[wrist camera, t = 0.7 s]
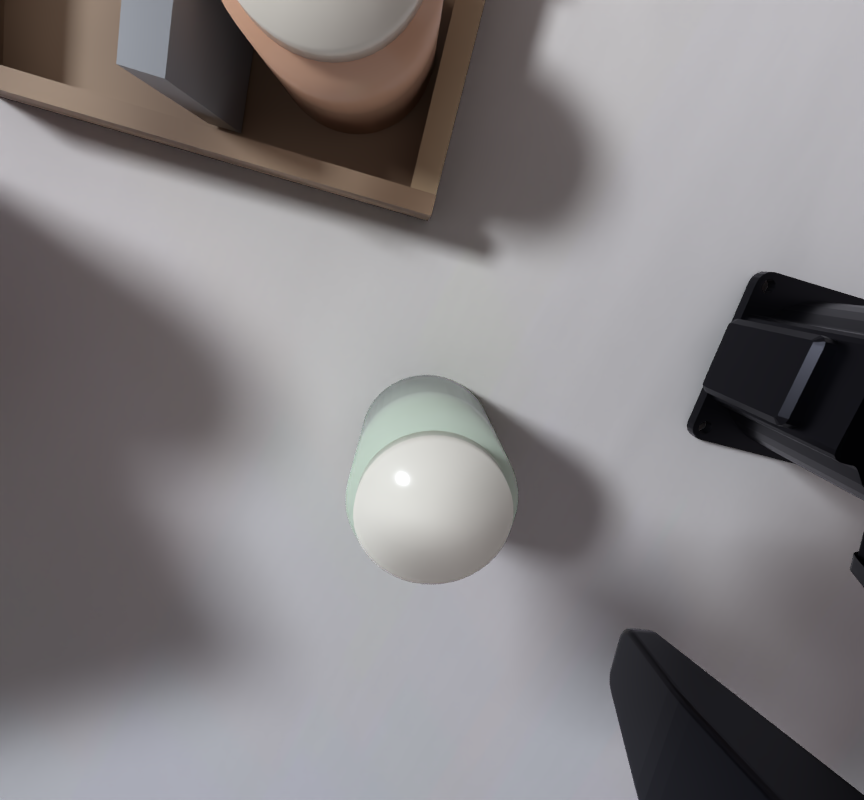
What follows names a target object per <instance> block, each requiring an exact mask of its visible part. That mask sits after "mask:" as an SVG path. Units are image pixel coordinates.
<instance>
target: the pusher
mask: <svg viewBox="0 0 864 800" xmlns="http://www.w3.org/2000/svg"><path fill="white" fill-rule="evenodd" d="M253 49H254V47H253V46H252V45H251V43H250V42H249V41H248V39H247V38H246V37H245V35H244V34H243V33H242V31H241V30H240V29H239V27H238V26H237V25H236V23H235V22H234V20H233V19H232V17H231V16H230V14H229V13H228V11H227V10H226V8H225V6H224V4H223V2H222V0H121V12H120V24H119V36H118V49H117V61H116V64H117V65H119V66H120V67H122V68H123V69H125V70H127V71H128V72H130V73H131V74H133V75H134V76H136V77H137V78H139V79H140V80H142V81H144V82H145V83H147V84H148V85H150V86H151V87H153V88H154V89H156V90H157V91H159V92H160V93H162V94H164V95H165V96H167V97H168V98H170V99H171V100H173V101H174V102H176V103H177V104H179V105H181V106H182V107H184V108H185V109H187V110H188V111H190V112H191V113H193V114H194V115H196V116H198V117H199V118H201V119H202V120H204V121H205V122H207V123H208V124H211V125H215V126H218V127H221V128H225V129H228V130H232V131H235V132H238V133H241V131H242V124H243V117H244V111H245V104H246V97H247V90H248V83H249V77H250V70H251V63H252V56H253Z"/></svg>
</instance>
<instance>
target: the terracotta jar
mask: <svg viewBox="0 0 864 800" xmlns="http://www.w3.org/2000/svg"><path fill="white" fill-rule="evenodd" d="M222 2H223V4H224V6H225V8H226V10H227V11H228V13H229V14H230V16H231V17H232V19H233V20H234V22H235V23H236V25H237V26H238V27H239V29H240V30H241V31H242V33H243V34H244V35H245V37H246V38H247V39H248V41H249V42H250V43H251V45H252V46H253V47H254V49H255V50H256V51H257V53H258V54H259V55H260V57H261V58H262V59H263V61H264V62H265V63H266V65H267V66H268V67H269V69H270V70H271V71H272V73H273V74H274V75H275V77H276V78H277V79H278V81H279V82H280V83H281V85H282V86H283V87H284V89H285V90H286V91H287V92H288V94H289V95H290V96H291V98H292V99H293V100H294V101H295V103H296V104H297V105H298V106H299V107H300V108H301V109H302V110H303V111H304V112H305V113H306V114H307V115H308V116H310V117H311V118H312V119H314V120H315V121H316V122H318V123H320V124H322V125H324V126H325V127H327V128H330V129H333V130H335V131H339V132H343V133H347V134H369V133H374V132H378V131H381V130H384V129H386V128H389V127H390V126H392V125H394V124H396V123H397V122H399V121H400V120H402V119H403V118H404V117H405V116H406V115H407V114H408V113H410V112H411V111H412V110H413V108H414V107H415V106H416V105H417V103H418V102H419V101H420V99H421V97H422V96H423V94H424V92H425V90H426V88H427V86H428V84H429V81H430V78H431V75H432V72H433V68H434V62H435V57H436V49H437V42H438V35H439V28H440V21H441V13H442V6H443V0H222Z"/></svg>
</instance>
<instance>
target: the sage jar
mask: <svg viewBox="0 0 864 800" xmlns="http://www.w3.org/2000/svg"><path fill="white" fill-rule="evenodd" d="M517 505H518V487H517V481H516V477H515V474H514V471H513V469H512V467H511V465H510V462H509V460H508V458H507V456H506V454H505V452H504V450H503V448H502V446H501V444H500V442H499V440H498V438H497V435H496V433H495V431H494V429H493V427H492V425H491V423H490V421H489V419H488V417H487V415H486V413H485V411H484V409H483V406H482V405H481V403H480V402H479V400H478V399H477V398H476V397H475V396H474V395H473V393H471V392H470V391H469V390H468V389H467V388H465V387H464V386H462V385H461V384H459V383H457V382H455V381H453V380H451V379H448V378H444V377H440V376H433V375H421V376H414V377H409V378H406V379H403V380H400V381H398V382H396V383H394V384H392V385H391V386H389V387H388V388H386V389H385V390H384V391H383V392H382V393H381V394H379V396H378V397H377V398H376V399H375V400H374V402H373V403H372V405H371V406H370V408H369V410H368V412H367V414H366V416H365V420H364V423H363V427H362V430H361V434H360V438H359V442H358V445H357V449H356V453H355V457H354V460H353V464H352V468H351V472H350V476H349V479H348V483H347V489H346V511H347V516H348V520H349V523H350V526H351V528H352V530H353V532H354V534H355V536H356V537H357V539H358V540H359V542H360V545H361V546H362V548H363V550H364V551H365V553H366V554H367V555H368V556H369V558H370V559H371V560H372V561H373V562H374V563H375V564H376V565H378V566H379V567H380V568H382V569H383V570H384V571H386V572H387V573H389V574H391V575H393V576H395V577H397V578H400V579H403V580H406V581H409V582H413V583H420V584H443V583H448V582H454V581H457V580H460V579H463V578H465V577H467V576H470V575H472V574H474V573H475V572H477V571H479V570H480V569H482V568H483V567H484V566H486V565H487V564H488V563H489V562H490V561H491V560H492V559H493V558H494V557H495V556H496V555H497V554H498V553H499V551H500V550H501V549H502V547H503V545H504V544H505V542H506V540H507V538H508V536H509V533H510V530H511V527H512V523H513V521H514V518H515V515H516V511H517Z"/></svg>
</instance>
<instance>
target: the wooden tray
mask: <svg viewBox="0 0 864 800" xmlns="http://www.w3.org/2000/svg"><path fill="white" fill-rule="evenodd" d="M484 4H485V0H443V6H442V13H441V21H440V28H439V35H438V42H437V49H436V57H435V62H434V68H433V72H432V75H431V78H430V81H429V84H428V86H427V88H426V90H425V92H424V94H423V96H422V97H421V99H420V101H419V102H418V103H417V105H416V106H415V107H414V108H413V110H412V111H411V112H410V113H408V114H407V115H406V116H405V117H404V118H403V119H402V120H400V121H399V122H397V123H396V124H394V125H392V126H390V127H389V128H386V129H384V130H381V131H378V132H374V133H369V134H347V133H343V132H339V131H335V130H333V129H330V128H327V127H325V126H324V125H322V124H320V123H318V122H316V121H315V120H314V119H312V118H311V117H310V116H308V115H307V114H306V113H305V112H304V111H303V110H302V109H301V108H300V107H299V106H298V105H297V104H296V103H295V101H294V100H293V99H292V98H291V96H290V95H289V94H288V92H287V91H286V90H285V89H284V87H283V86H282V85H281V83H280V82H279V81H278V79H277V78H276V77H275V75H274V74H273V73H272V71H271V70H270V69H269V67H268V66H267V65H266V63H265V62H264V61H263V59H262V58H261V57H260V55H259V54H258V53H257V51H256V50H255V49H253V56H252V63H251V70H250V77H249V83H248V90H247V97H246V104H245V111H244V117H243V124H242V131H241V133H238V132H235V131H232V130H228V129H225V128H221V127H218V126H215V125H211V124H208V123H207V122H205V121H204V120H202V119H201V118H199V117H198V116H196V115H194V114H193V113H191V112H190V111H188V110H187V109H185V108H184V107H182V106H181V105H179V104H177V103H176V102H174V101H173V100H171V99H170V98H168V97H167V96H165V95H164V94H162V93H160V92H159V91H157V90H156V89H154V88H153V87H151V86H150V85H148V84H147V83H145V82H144V81H142V80H140V79H139V78H137V77H136V76H134V75H133V74H131V73H130V72H128V71H127V70H125V69H123V68H122V67H120V66H119V65H117V64H116V61H117V49H118V36H119V24H120V12H121V0H0V97H4V98H7V99H11V100H14V101H18V102H21V103H24V104H28V105H31V106H35V107H38V108H42V109H45V110H48V111H52V112H55V113H59V114H62V115H66V116H69V117H73V118H76V119H79V120H83V121H86V122H90V123H93V124H97V125H100V126H103V127H107V128H110V129H114V130H117V131H121V132H124V133H127V134H131V135H134V136H138V137H141V138H145V139H148V140H152V141H155V142H158V143H162V144H165V145H169V146H172V147H176V148H179V149H182V150H186V151H189V152H193V153H196V154H200V155H203V156H206V157H210V158H213V159H217V160H220V161H224V162H227V163H231V164H234V165H237V166H241V167H244V168H248V169H251V170H255V171H258V172H261V173H265V174H268V175H272V176H275V177H279V178H282V179H285V180H289V181H292V182H296V183H299V184H303V185H306V186H310V187H313V188H316V189H320V190H323V191H327V192H330V193H334V194H337V195H340V196H344V197H347V198H351V199H354V200H358V201H361V202H365V203H368V204H371V205H375V206H378V207H382V208H385V209H389V210H392V211H395V212H399V213H402V214H406V215H409V216H413V217H416V218H419V219H423V220H426V221H428V220H429V219H430V217H431V215H432V211H433V207H434V203H435V199H436V193H437V189H438V185H439V181H440V177H441V173H442V169H443V166H444V162H445V158H446V154H447V150H448V146H449V142H450V138H451V134H452V130H453V126H454V122H455V118H456V114H457V110H458V106H459V102H460V99H461V95H462V91H463V87H464V83H465V79H466V75H467V71H468V67H469V63H470V59H471V55H472V51H473V47H474V43H475V39H476V35H477V31H478V28H479V24H480V20H481V16H482V12H483V8H484Z"/></svg>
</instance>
